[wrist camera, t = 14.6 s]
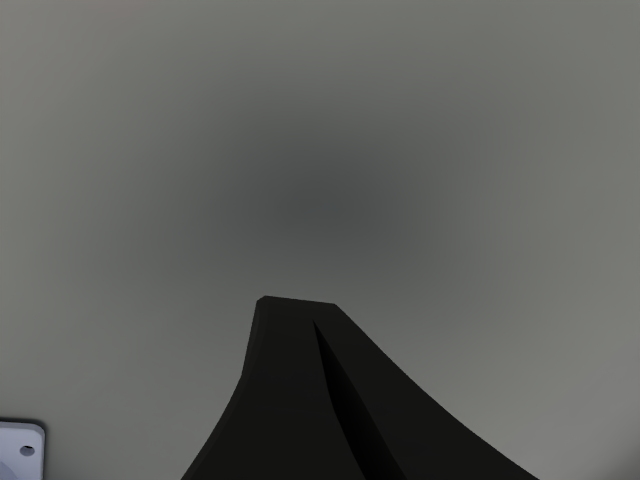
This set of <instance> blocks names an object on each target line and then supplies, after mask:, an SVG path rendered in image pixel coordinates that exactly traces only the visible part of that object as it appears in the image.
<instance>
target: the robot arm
mask: <svg viewBox="0 0 640 480" xmlns="http://www.w3.org/2000/svg"><path fill="white" fill-rule="evenodd" d="M44 440H45V434H44V430H43V429H42V428H41V427H39V426H38V425H35V424H28V423H11V422H0V480H43V461H44ZM25 446H31V447H32V448H31V449H30V448H26V447H25ZM181 480H539V479H538V478H536V477H534V476H533V475H531V474H530V473H529V472H527V471H526V470H524V469H523V468H521V467H520V466H518V465H517V464H515V463H514V462H513V461H511V460H510V459H508V458H507V457H506V456H504V455H503V454H502V453H500V452H499V451H497V450H496V449H495V448H493V447H492V446H491V445H489V444H488V443H487V442H485V441H484V440H483V439H481V438H480V437H479V436H477V435H476V434H475V433H473V432H472V431H471V430H469V429H468V428H467V427H466V426H464V425H463V424H462V423H461V422H460V421H458V420H457V419H456V418H455V417H453V416H452V415H451V414H450V413H449V412H448V411H446V410H445V409H444V408H443V407H442V406H441V405H439V404H438V403H437V402H436V401H435V400H434V399H433V398H431V397H430V396H429V395H428V394H427V393H426V392H425V391H423V390H422V389H421V388H420V387H419V386H418V385H417V384H416V383H415V382H414V381H413V380H412V379H410V378H409V377H408V376H407V375H406V374H405V373H404V372H403V371H402V370H401V369H400V368H399V367H398V366H397V365H396V364H395V363H394V362H393V361H392V360H391V359H390V358H389V357H388V356H387V355H386V354H385V353H384V352H383V351H382V350H381V349H380V348H379V347H378V346H377V345H376V344H375V343H374V342H373V341H372V340H371V339H370V338H369V337H368V336H367V335H366V334H365V333H364V332H363V331H362V330H361V329H360V328H359V327H358V326H357V325H356V324H355V323H354V322H353V321H352V320H351V319H350V318H349V317H348V316H347V315H346V314H345V313H344V312H343V311H342V310H341V309H340V308H339V307H338V306H337V305H335V304H332V303H323V302H315V301H306V300H298V299H289V298H281V297H272V296H264V297H262V298H260V299H259V300H257V303H256V308H255V313H254V317H253V322H252V327H251V332H250V337H249V341H248V346H247V351H246V356H245V361H244V365H243V370H242V375H241V378H240V380H239V382H238V384H237V386H236V389H235V391H234V393H233V395H232V397H231V399H230V401H229V403H228V405H227V407H226V409H225V411H224V412H223V414H222V416H221V418H220V420H219V421H218V423H217V425H216V426H215V428H214V430H213V432H212V433H211V435H210V437H209V438H208V440H207V441H206V443H205V444H204V446H203V447H202V449H201V450H200V452H199V453H198V455H197V456H196V458H195V459H194V461H193V462H192V464H191V465H190V467H189V468H188V470H187V471H186V473H185V474H184V476H183V477H182V478H181Z"/></svg>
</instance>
